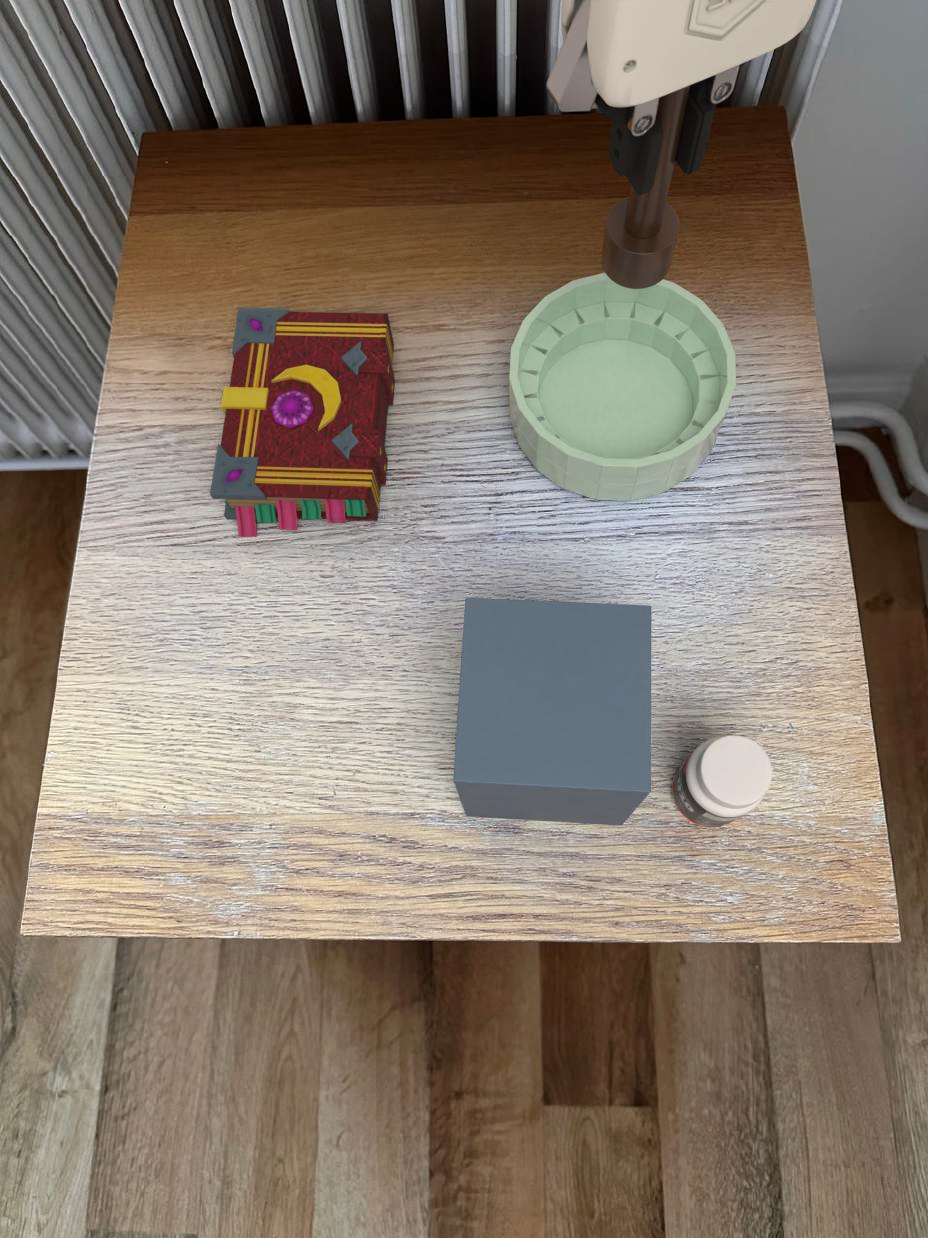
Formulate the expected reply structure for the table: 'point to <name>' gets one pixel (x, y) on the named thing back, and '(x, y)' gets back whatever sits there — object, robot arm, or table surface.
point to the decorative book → (305, 418)
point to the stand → (554, 710)
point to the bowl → (619, 386)
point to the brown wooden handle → (647, 212)
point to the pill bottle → (722, 781)
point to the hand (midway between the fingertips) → (654, 161)
